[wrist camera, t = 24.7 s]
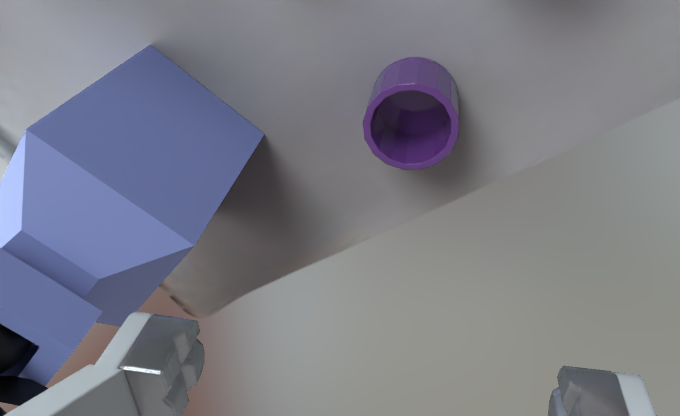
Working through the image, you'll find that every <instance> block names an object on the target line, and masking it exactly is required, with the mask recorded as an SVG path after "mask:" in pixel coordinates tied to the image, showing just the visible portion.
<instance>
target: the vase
mask: <svg viewBox="0 0 680 416" xmlns="http://www.w3.org/2000/svg"><path fill="white" fill-rule="evenodd" d="M263 136H264V133H262V132H261V131H260V130H258V129H257V128H256V127H255V126H253V125H252V124H251V123H250V122H248V121H247V120H246V119H244V118H243V117H242V116H241V115H239V114H238V113H237V112H235V111H234V110H233V109H232V108H230V107H229V106H228V105H227V104H225V103H224V102H223V101H221V100H220V99H219V98H218V97H216V96H215V95H214V94H213V93H211V92H210V91H209V90H207V89H206V88H205V87H204V86H202V85H201V84H200V83H198V82H197V81H196V80H195V79H193V78H192V77H191V76H190V75H188V74H187V73H186V72H184V71H183V70H182V69H181V68H179V67H178V66H177V65H176V64H174V63H173V62H172V61H170V60H169V59H168V58H167V57H165V56H164V55H163V54H162V53H160V52H159V51H158V50H156V49H155V48H154V47H153V46H151V45H149V46H148V47H146V48H145V49H143V50H142V51H140V52H139V53H137V54H136V55H134V56H133V57H131V58H130V59H128V60H127V61H125V62H124V63H123V64H121V65H120V66H118V67H117V68H115V69H114V70H112V71H111V72H109V73H108V74H106V75H105V76H103V77H102V78H101V79H99V80H98V81H96V82H95V83H93V84H92V85H90V86H89V87H87V88H86V89H84V90H83V91H81V92H80V93H78V94H77V95H76V96H74V97H73V98H71V99H70V100H68V101H67V102H65V103H64V104H62V105H61V106H59V107H58V108H56V109H55V110H53V111H52V112H51V113H49V114H48V115H46V116H45V117H43V118H42V119H40V120H39V121H37V122H36V123H34V124H33V125H31V126H30V127H28V128H27V129H26V130H25V132H24V134H23V136H22V139H21V141H20V143H19V145H18V147H17V149H16V151H15V153H14V155H13V157H12V159H11V162H10V164H9V166H8V168H7V170H6V172H5V174H4V176H3V178H2V181H1V183H0V402H3V403H8V404H13V405H18V406H20V405H22V404H24V403H25V402H27V401H29V400H30V399H32V398H34V397H35V396H37V395H39V394H40V393H42V392H44V391H46V390H47V389H48V388H47V387H45V386H46V384H47V383H48V382H49V381H50V379H51V378H52V377H53V376H54V375H55V373H56V372H57V371H58V369H59V368H60V367H61V366H62V365H63V364H64V362H65V361H66V360H67V359H68V358H69V356H70V355H71V354H72V353H73V351H74V350H75V349H76V347H77V346H78V345H79V343H80V342H81V341H82V339H83V338H84V337H85V335H86V334H87V333H88V331H89V330H90V328H91V327H92V325H93V324H94V323H95V322H97V323H103V324H109V325H114V326H120V327H121V326H122V324H123V323H124V322H125V320H126V319H127V317H128V316H129V315H130V314H132V313H133V312H136V311H137V310H138V309H139V308H140V307H141V306H142V304H143V303H144V302H145V301H146V300H147V299H148V297H149V296H150V295H151V294H152V293H153V292H154V291H155V290H156V288H157V287H158V286H159V285H160V284H161V283H162V282H163V281H164V279H165V278H166V277H167V276H168V275H169V274H170V273H171V271H172V270H173V269H174V268H175V267H176V266H177V265H178V264H179V262H180V261H181V260H182V259H183V258H184V257H185V256H186V254H187V253H188V252H189V251H190V250H191V249H192V248H193V246H194V245H195V244H196V242H197V241H198V239H199V237H200V236H201V234H202V233H203V231H204V229H205V228H206V226H207V225H208V223H209V221H210V220H211V218H212V217H213V215H214V214H215V212H216V210H217V209H218V207H219V206H220V204H221V202H222V201H223V199H224V198H225V196H226V194H227V193H228V191H229V190H230V188H231V187H232V185H233V183H234V182H235V180H236V179H237V177H238V175H239V174H240V172H241V171H242V169H243V167H244V166H245V164H246V163H247V161H248V160H249V158H250V156H251V155H252V153H253V152H254V150H255V148H256V147H257V145H258V144H259V142H260V140H261V139H262V137H263ZM5 414H7V413H6V412H5V411H4V410H3V409H2V408H1V407H0V416H4V415H5Z"/></svg>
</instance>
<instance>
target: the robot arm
mask: <svg viewBox="0 0 680 416" xmlns="http://www.w3.org/2000/svg"><path fill="white" fill-rule="evenodd" d="M199 332H200V329H199V325H198V322H197V321H195V320H190V319H183V318H177V317H171V316H164V315H157V314H149V313H142V312H133V313H132V314H130V315H129V316H128V317H127V319H126V320H125V322H124V323H123V324H122V326H121V327H120V329H119V331H118V332H117V333H116V335H115V336H114V338H113V339H112V341H111V342H110V344H109V345H108V347H107V348H106V350H105V351H104V352H103V354H102V355H101V357H100V358H99V360H98V361H97V363H96V364H95V365H87V366H86V367H84V368H82V369H81V370H79V371H77V372H76V373H74V374H72V375H71V376H69V377H67V378H66V379H64V380H62V381H61V382H59V383H57V384H56V385H54V386H52V387H51V388H49V389H47V390H46V391H44V392H42V393H40V394H39V395H37V396H35V397H34V398H32V399H30V400H29V401H27V402H25V403H24V404H22V405H20V406H19V407H17V408H15V409H14V410H12V411H10V412H9V413H7V414H5V415H4V416H182V414H183V412H184V410H185V408H186V406H187V404H188V402H189V398H188V394H187V391H188V390H189V389H191V388H192V387H194V386H195V385H196V384H197V382H198V380H199V378H200V375H201V373H202V369H203V364H204V347H203V344H202V343H201V342H200V341H199V340H198V339H197V336H198V334H199ZM557 378H558V384H559V387H558V388H556V389H554V390H553V391H552V394H551V397H550V401H549V411H548V416H657V415H656V412H655V410H654V407H653V404H652V402H651V399H650V396H649V393H648V391H647V388H646V385H645V383H644V380H643V379H642V378H641V376H640V375H635V374H626V373H618V372H611V371H604V370H596V369H587V368H578V367H569V366H563V367H562V368H561V369H560V371H559V374H558V377H557Z"/></svg>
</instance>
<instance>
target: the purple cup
mask: <svg viewBox="0 0 680 416" xmlns="http://www.w3.org/2000/svg"><path fill="white" fill-rule="evenodd" d="M363 129H364V137H365V140H366V142H367V144H368V145H369V147H370V149H371V151H372V152H373V153H374V155H375V156H377V157H378V158H379V159H381V160H382V161H383V162H384V163H386V164H388V165H390V166H393V167H397V168H400V169H403V170H417V169H424V168H427V167H429V166H432V165H434V164H437V163H439V162H440V161H441V160H442V159H443V158H444V157H446V156H447V155H448V154H449V153H450V152H451V151H452V149H453V147H454V145H455V143H456V140H457V138H458V136H459V110H458V91H457V87H456V84H455V82H454V80H453V78H452V76H451V75H450V73H449V72H448V71H447V70H446V69H445V68H444V67H442V66H441V65H440V64H438V63H436V62H434V61H432V60H429V59H425V58H419V57H411V58H405V59H402V60H399V61H396V62H394V63H393V64H391V65H389V66H388V67H387V68H386V69H385V70H384V71H383V72H382V73H381V74H380V75H379V77H378V78H377V80H376V82H375V84H374V88H373V91H372V94H371V97H370V100H369V103H368V107H367V110H366V113H365V116H364V120H363Z"/></svg>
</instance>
